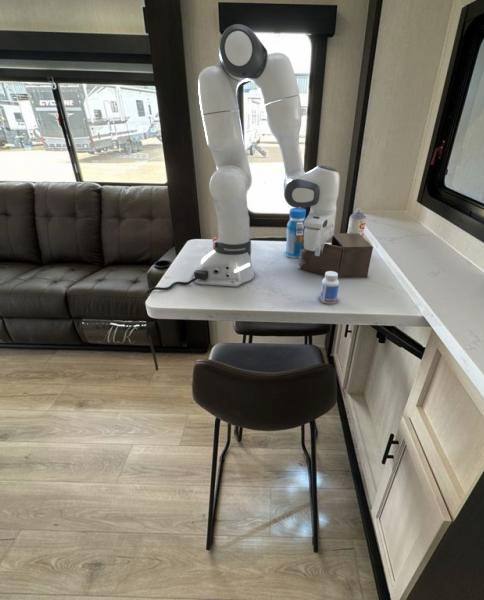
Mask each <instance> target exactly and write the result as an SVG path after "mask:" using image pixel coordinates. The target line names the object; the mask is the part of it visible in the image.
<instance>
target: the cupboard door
mask: <svg viewBox="0 0 484 600" xmlns="http://www.w3.org/2000/svg"><path fill="white" fill-rule="evenodd" d="M342 248H343V247H340V246H335V245H331V244H330V243H325V245H324V247H323V251H322V254H321V255H319V256H315V251H309V250H306V249H305V248H304V239H303V241H302V250H300V258H298V259H299V261H298V266H299V268H300V270H303V271H307V272H310V273H314V274H315V273H316V274H319V275H323V276H325V273H326V272H327V271H334V272H336V273H338V274H339V267H340V261H341V254H342Z"/></svg>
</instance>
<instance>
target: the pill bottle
mask: <svg viewBox="0 0 484 600" xmlns="http://www.w3.org/2000/svg"><path fill="white" fill-rule="evenodd" d="M339 286H340V281H339V277H338V273H336V272H334V271H327V272H326V273H325V275H324V278H323V279H322V280H321V287H320V289H321V290H320V301H321V302H322V303H324V304H329V305H333V304H335V303H337V299H338V293H339Z"/></svg>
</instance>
